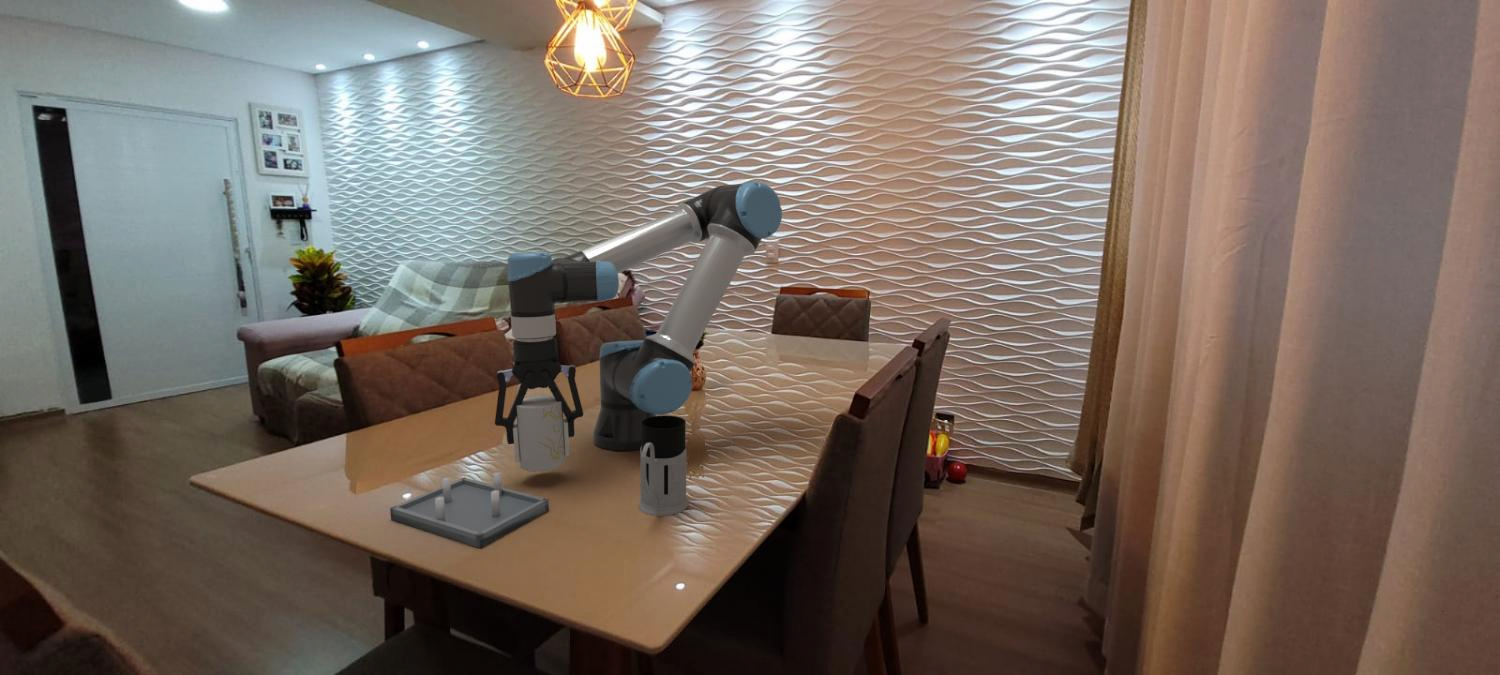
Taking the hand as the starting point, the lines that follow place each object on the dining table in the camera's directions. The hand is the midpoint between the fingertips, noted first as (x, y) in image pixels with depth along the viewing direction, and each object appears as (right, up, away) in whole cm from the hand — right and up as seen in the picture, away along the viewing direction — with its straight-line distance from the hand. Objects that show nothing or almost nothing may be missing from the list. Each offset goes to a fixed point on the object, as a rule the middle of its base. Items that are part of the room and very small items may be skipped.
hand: (542, 456), depth 111 cm
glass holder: (+24, -7, -11) cm, 27 cm away
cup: (0, -2, 0) cm, 2 cm away
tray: (-7, -7, -14) cm, 17 cm away
